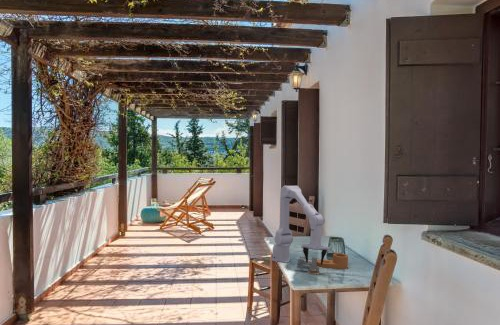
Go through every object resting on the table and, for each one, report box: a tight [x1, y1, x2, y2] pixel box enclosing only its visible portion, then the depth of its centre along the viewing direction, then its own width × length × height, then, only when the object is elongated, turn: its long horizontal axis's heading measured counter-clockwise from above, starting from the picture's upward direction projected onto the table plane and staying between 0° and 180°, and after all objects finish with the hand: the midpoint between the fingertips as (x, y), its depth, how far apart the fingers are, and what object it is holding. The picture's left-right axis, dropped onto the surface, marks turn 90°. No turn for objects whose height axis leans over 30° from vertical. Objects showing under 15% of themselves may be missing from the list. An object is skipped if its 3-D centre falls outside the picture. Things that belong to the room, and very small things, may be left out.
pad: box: [306, 269, 321, 276], centre depth 210 cm, size 6×6×1 cm
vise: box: [297, 255, 318, 269], centre depth 218 cm, size 10×11×5 cm
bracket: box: [317, 252, 349, 270], centre depth 223 cm, size 18×8×7 cm, turn 88°
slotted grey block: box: [307, 256, 320, 274], centre depth 210 cm, size 3×5×7 cm, turn 73°
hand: (314, 263), depth 210 cm, fingers open, 7 cm apart
